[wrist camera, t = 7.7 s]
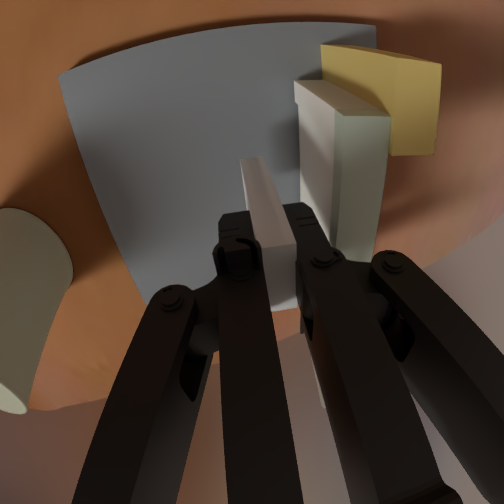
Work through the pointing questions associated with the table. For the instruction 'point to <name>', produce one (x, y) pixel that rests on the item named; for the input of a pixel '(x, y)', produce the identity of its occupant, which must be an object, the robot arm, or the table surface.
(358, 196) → the white framed panel
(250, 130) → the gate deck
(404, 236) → the table surface
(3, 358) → the can
